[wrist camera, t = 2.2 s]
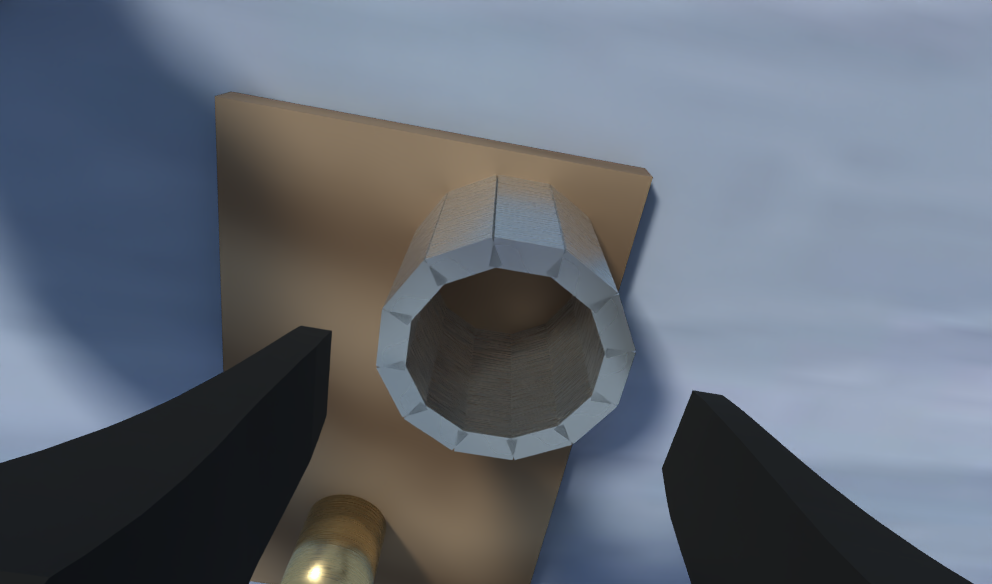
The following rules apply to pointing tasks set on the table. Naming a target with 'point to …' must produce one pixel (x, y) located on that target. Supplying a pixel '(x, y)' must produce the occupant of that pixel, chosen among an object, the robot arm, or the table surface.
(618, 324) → the steel collar
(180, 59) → the table surface
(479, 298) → the walnut board
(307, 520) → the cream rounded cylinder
